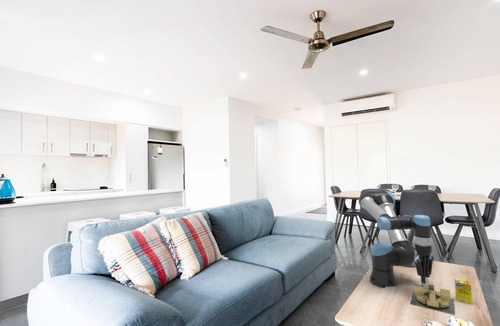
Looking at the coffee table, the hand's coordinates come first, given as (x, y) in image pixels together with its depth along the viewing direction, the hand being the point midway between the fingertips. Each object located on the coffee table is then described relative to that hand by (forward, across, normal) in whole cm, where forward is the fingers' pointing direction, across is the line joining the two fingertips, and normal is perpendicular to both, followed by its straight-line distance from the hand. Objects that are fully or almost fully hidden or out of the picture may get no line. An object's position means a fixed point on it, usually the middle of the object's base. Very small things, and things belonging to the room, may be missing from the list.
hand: (425, 288), depth 137 cm
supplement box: (+6, +14, -10) cm, 18 cm away
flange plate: (+6, -1, -4) cm, 7 cm away
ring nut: (+4, -1, -4) cm, 6 cm away
